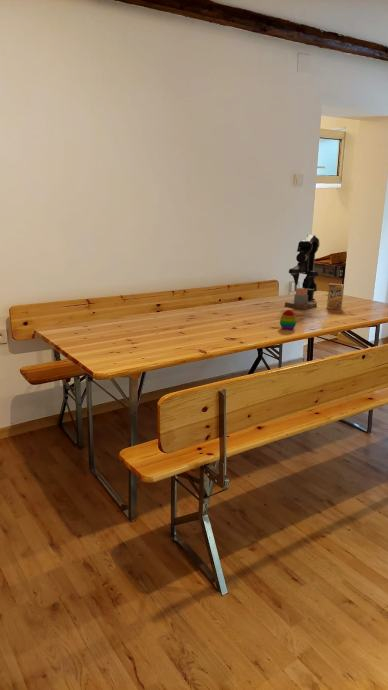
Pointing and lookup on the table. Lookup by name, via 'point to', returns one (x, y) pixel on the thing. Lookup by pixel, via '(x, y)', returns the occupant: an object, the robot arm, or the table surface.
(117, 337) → the table surface
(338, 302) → the candy box
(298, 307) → the walnut plinth
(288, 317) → the decorative egg
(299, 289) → the terracotta cube
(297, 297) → the grey block
